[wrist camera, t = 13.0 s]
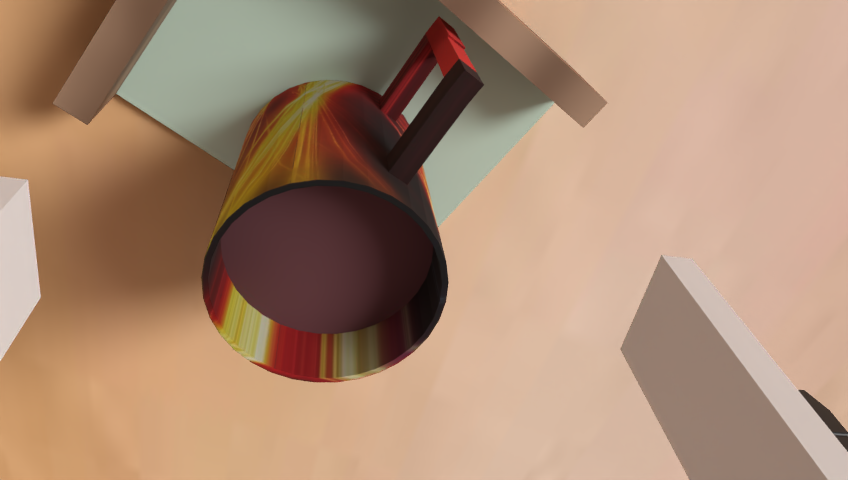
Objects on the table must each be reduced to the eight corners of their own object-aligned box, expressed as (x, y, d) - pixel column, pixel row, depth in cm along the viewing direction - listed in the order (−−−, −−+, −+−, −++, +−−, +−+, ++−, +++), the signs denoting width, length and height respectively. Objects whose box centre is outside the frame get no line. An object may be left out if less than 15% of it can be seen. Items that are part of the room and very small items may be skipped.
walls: (89, 70, 34) (52, 103, 30) (267, -214, 29) (253, -224, 24) (393, 268, 42) (399, 317, 37) (576, 72, 36) (607, 102, 32)
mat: (119, 89, 35) (116, 93, 34) (277, -153, 30) (276, -153, 29) (393, 268, 42) (394, 273, 41) (555, 94, 37) (558, 98, 36)
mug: (452, 13, 34) (499, 88, 23) (404, 250, 40) (424, 390, 30) (253, -22, 32) (209, 42, 22) (237, 232, 39) (198, 373, 28)
